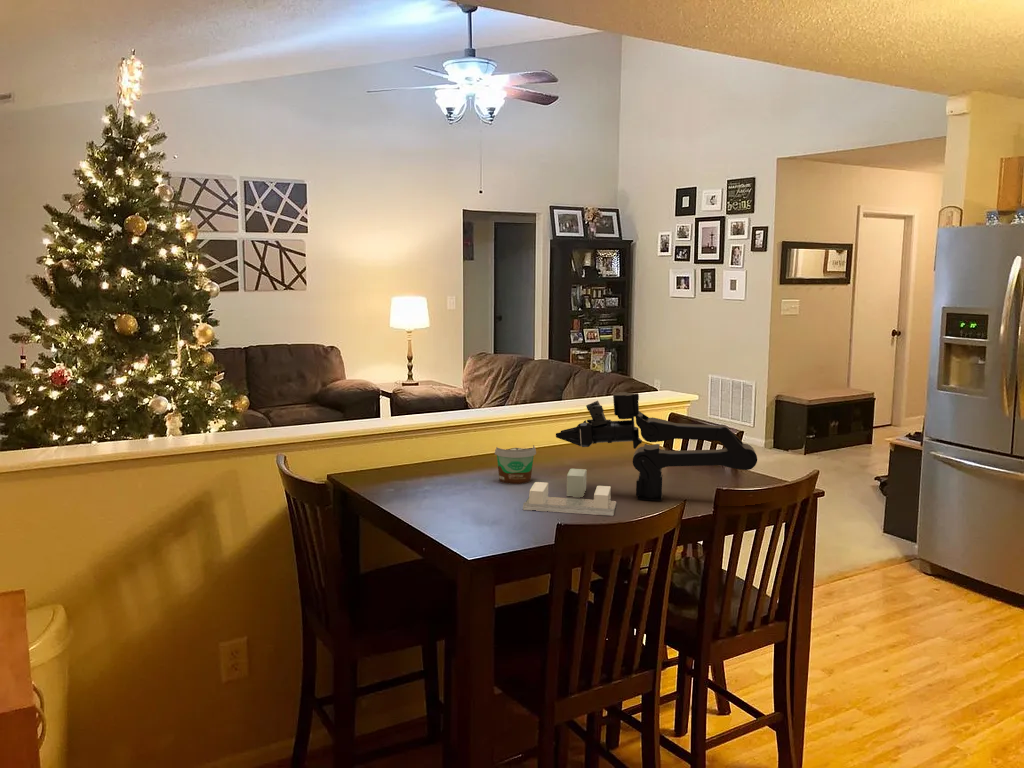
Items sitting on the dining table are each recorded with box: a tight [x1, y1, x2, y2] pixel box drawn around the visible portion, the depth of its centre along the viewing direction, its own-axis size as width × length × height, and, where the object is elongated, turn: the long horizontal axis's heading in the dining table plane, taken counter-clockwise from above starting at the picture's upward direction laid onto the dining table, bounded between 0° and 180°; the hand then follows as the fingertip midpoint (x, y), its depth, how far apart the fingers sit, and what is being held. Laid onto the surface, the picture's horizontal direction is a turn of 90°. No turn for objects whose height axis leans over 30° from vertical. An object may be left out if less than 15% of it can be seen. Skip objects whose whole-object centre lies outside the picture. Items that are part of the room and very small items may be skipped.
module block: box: [566, 468, 588, 498], centre depth 229 cm, size 4×8×6 cm, turn 169°
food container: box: [494, 445, 537, 485], centre depth 240 cm, size 12×6×10 cm, turn 105°
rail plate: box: [522, 496, 617, 517], centre depth 215 cm, size 23×10×2 cm, turn 79°
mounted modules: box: [528, 481, 612, 509], centre depth 215 cm, size 20×9×4 cm, turn 79°
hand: (558, 433), depth 228 cm, fingers open, 9 cm apart
